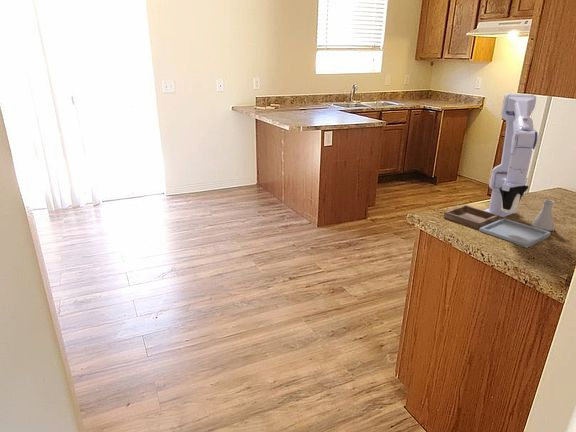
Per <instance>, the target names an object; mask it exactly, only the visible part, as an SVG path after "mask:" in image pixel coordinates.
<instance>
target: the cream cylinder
mask: <svg viewBox="0 0 576 432" xmlns="http://www.w3.org/2000/svg"><path fill="white" fill-rule="evenodd" d="M519 199H520V194H517V196H516V197H515V199H514V201H513V204H512V207H511V209H510V210H506V209H503V203H502V205H501V211H502V212H505V213H512V214H517V213H518V211H519V210H518V209H519V203H520V201H519ZM520 200H521V199H520Z"/></svg>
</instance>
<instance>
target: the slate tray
mask: <svg viewBox="0 0 576 432" xmlns="http://www.w3.org/2000/svg"><path fill="white" fill-rule="evenodd" d="M478 230H479V232H480V233H483V234H487V235H490V236H493V237H496V238H498V239H501V240H504V241H507V242H510V243H512V244H513V245H516V246H519V247H522V248H524V247H525V248H524V249H529V248H531V247H533V246H534V245H537V244H538V243H541V241H544V240H546V239H548V238H550V237H551V232H552V231H545V230H541V229H538V228H535V227H532V225H529V224H525V223H520V222H518V221H514V220H511V219H507V218H505V217H502V218H501V219H499V220H498V221H495V222H493V223H491V224H488V225H486V226H483V227H481V228H479V229H478ZM528 247H529V248H528Z"/></svg>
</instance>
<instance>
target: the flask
mask: <svg viewBox="0 0 576 432" xmlns="http://www.w3.org/2000/svg"><path fill="white" fill-rule="evenodd" d="M554 204H555V201H554V200H551V199H543V204H542V205H543V206H542V208H541V210H540V211H539V213H538V214H537V215H536V217H535V218H534V220H533V221H532V223H531V226H532V227H535V228H538V229H541V230H545V231H548V232H554V231H555V228H554V220H553V213H552V212H553V205H554Z"/></svg>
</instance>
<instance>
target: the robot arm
mask: <svg viewBox="0 0 576 432" xmlns="http://www.w3.org/2000/svg"><path fill="white" fill-rule="evenodd" d="M536 103H537V95H535V96H534V95H532V94H528V95H527V94H525V93H524V94H522V93H519V94H518V93H508V92H507V93H506V94H505V95H504V96H503V100H502V108H501V114H500V115H501V118H502V119H503V120H505V124H506V128H505V134H504V140H503V141H504V142H503V147H502V155H501V161H500V164H499V165H496V166H494V167H493V168H492V170H491V174H490V177H489V183H488V185H489V188H490V189H491V190H492V191H491V196H490V199H489V200H490V201H489V205H488V208H486V209H484V211H487V212H490V213H494V214H497V215H499V217H502V218H505V217H507V216H510V215H512V214H513V213H505V212H502V211H501V205H502V203H503V209H506V210H510V209H511V207H512V204H513V201H514V199H515V197H516V196H517V194H520V199H519V202H520V201H521V199H522V197H523V195H524V194H525V193H526V191H527V190H528V189H529V185H526V184H527V182H528V173H529V168H530V164H531V160H532V159H531V158H532V155H533V154H532V153H533V150H535V148H536V147H537V144H538V137H539V136H538V131H537V130H536V129H535V128H534V122H533V118H531V117H530V116H532V114H533V112H534V110H535V108H536V105H537V104H536Z"/></svg>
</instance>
